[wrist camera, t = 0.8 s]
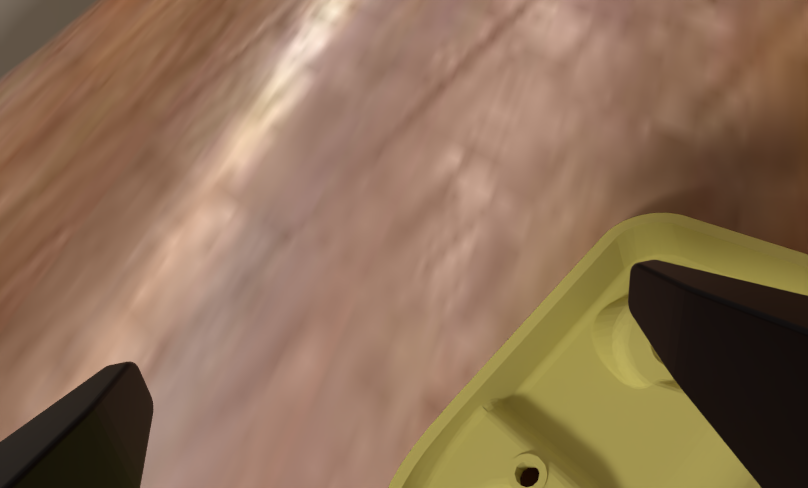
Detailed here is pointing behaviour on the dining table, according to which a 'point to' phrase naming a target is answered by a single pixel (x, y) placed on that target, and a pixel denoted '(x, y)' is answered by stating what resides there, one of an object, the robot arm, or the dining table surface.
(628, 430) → the plastic component
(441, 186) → the dining table surface
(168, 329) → the dining table surface
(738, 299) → the robot arm
